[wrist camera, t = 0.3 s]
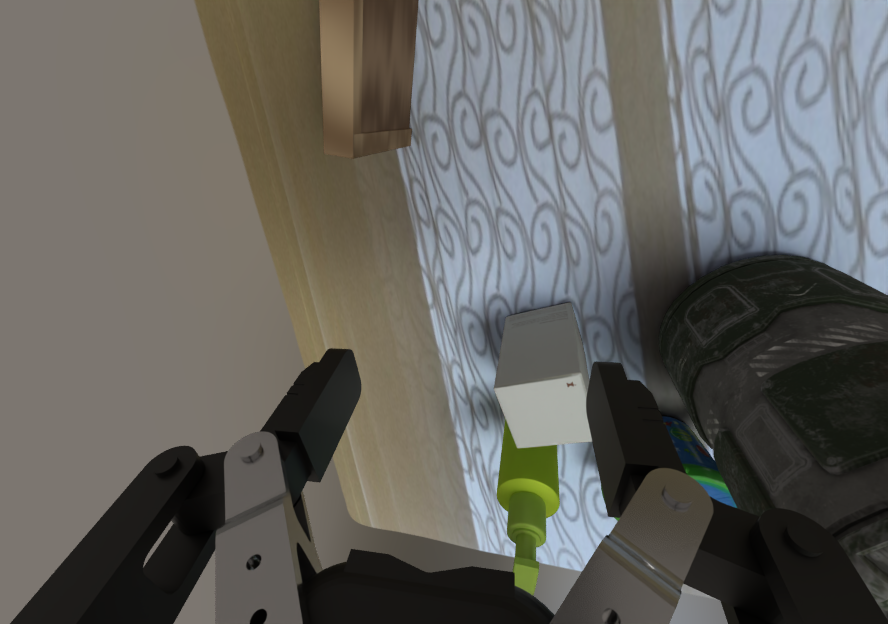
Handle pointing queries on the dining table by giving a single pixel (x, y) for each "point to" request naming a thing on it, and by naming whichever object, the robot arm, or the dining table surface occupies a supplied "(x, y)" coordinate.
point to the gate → (367, 74)
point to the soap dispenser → (527, 502)
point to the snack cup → (697, 461)
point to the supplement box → (543, 378)
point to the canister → (792, 395)
